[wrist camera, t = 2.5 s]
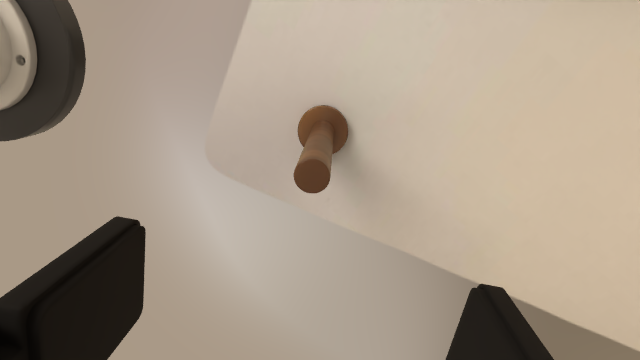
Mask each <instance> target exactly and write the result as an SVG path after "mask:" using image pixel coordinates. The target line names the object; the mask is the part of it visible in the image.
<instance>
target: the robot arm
mask: <svg viewBox="0 0 640 360" xmlns="http://www.w3.org/2000/svg"><path fill="white" fill-rule="evenodd" d="M36 69H37V49H36V43H35V39H34V35H33V32H32V29H31V27H30V25H29V22H28V20H27V18H26V16H25V14H24V13H23V11H22V10H21V8H20V6H19V5H18V3H17V2H16V1H15V0H0V111H1V110H4V109H7V108H10V107H11V106H13V105H15V104H16V103H18V102H19V101H20V100H21V99H22V98H23V97H24V96H25V95H26V94H27V93H28V91H29V89H30V87H31V86H32V84H33V81H34V78H35V75H36ZM144 262H145V228H144V227H143V226H140V222H139V221H138V220H134V219H128V218H123V217H115V218H113V219H111V220H110V221H109V222H107V223H106V224H104V225H103V226H102V227H100V228H99V229H97V230H96V231H94V232H93V233H92V234H90V235H89V236H87V237H86V238H84V239H83V240H82V241H80V242H79V243H78V244H76V245H75V246H74V247H72V248H70V249H69V250H68V251H66V252H65V253H63V254H62V255H60V256H59V257H58V258H56V259H55V260H53V261H52V262H50V263H49V264H48V265H46V266H45V267H44V268H42V269H41V270H39V271H38V272H37V273H35V274H33V275H32V276H31V277H29V278H28V279H27V280H25V281H24V282H22V283H21V284H19V285H18V286H16V287H15V288H14V289H12V290H11V291H10V292H8V293H7V294H5V295H4V296H2V297H1V298H0V360H107V359H108V358H109V357H110V355H111V354H112V353H113V351H114V350H115V349H116V347H117V346H118V345H119V344H120V342H121V341H122V340H123V338H124V337H125V336H126V335H127V333H128V332H129V331H130V329H131V328H132V327H133V325H134V324H135V323H136V322H137V320H138V319H139V317H140V315H141V313H142V309H143V293H144ZM446 360H554V359H553V358H552V356H551V355H550V353H549V352H548V351H547V349H546V348H545V347H544V345H543V344H542V342H541V341H540V339H539V338H538V337H537V335H536V334H535V332H534V331H533V330H532V328H531V327H530V325H529V324H528V322H527V321H526V320H525V318H524V317H523V315H522V314H521V312H520V311H519V310H518V308H517V307H516V306H515V304H514V303H513V301H512V300H511V298H510V297H509V295H508V294H507V293H506V291H505V290H504V289H503V288H501V287H496V286H491V285H485V284H480V285H479V286H478V287H477V288H472V289H471V291H470V293H469V296H468V299H467V302H466V305H465V308H464V310H463V313H462V316H461V318H460V322H459V324H458V327H457V330H456V332H455V335H454V338H453V341H452V343H451V346H450V349H449V352H448V355H447V357H446Z"/></svg>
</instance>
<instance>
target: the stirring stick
mask: <svg viewBox="0 0 640 360" xmlns="http://www.w3.org/2000/svg"><path fill="white" fill-rule="evenodd" d="M298 136H299V140H300V142H301V144H302V145H303V147H304V149H303V151H302V153H301V156H300V158H299V161H298V163H297V166H296V168H295V171H294V180H295V183H296V185H297V186H298V187H299V188H300V189H301V190H302V191H304V192H307V193H318V192H321V191H322V190H324V189H325V188H326V187H327V185H328V184H329V181H330V174H331V163H332V154H334V153H336V152H337V151H339V150H340V149H341V148H342V147H343V145H344V144H345V142H346V140H347V136H348V126H347V122H346V120H345V118H344V116H343V115H342V114H341V113H340V112H339V111H338V110H337V109H335V108H333V107H330V106H325V105H321V106H316V107H313V108H311V109H310V110H308V111H307V112H306V113H305V114H304V115H303V117H302V118H301V120H300V122H299V126H298Z"/></svg>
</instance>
